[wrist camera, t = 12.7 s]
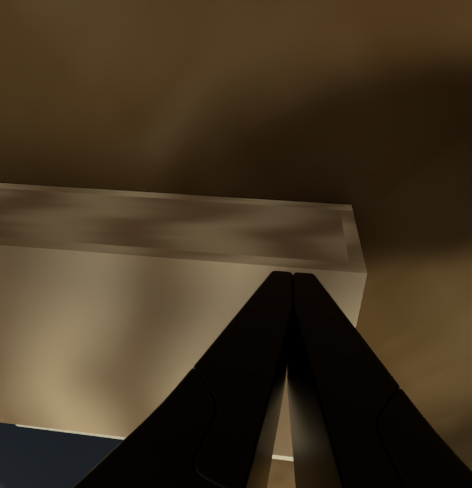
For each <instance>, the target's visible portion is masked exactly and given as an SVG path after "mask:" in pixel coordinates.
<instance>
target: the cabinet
mask: <svg viewBox="0 0 472 488" xmlns="http://www.w3.org/2000/svg"><path fill="white" fill-rule="evenodd" d="M272 271H287V272H291V273H292V274H294V273H295V272H300V273H312V274H314V275H315V276H316V277H317V279H318V280H319V281H320V282H321V284H322V285H323V286H324V288H325V289H326V290H327V292H328V293H329V294H330V296H331V297H332V298H333V300H334V301H335V302H336V303H337V305H338V306H339V307H340V309H341V310H342V311H343V313H344V314H345V315H346V317H347V318H348V319H349V320H350V322H351V323H352V324H353V326H354V327H355V328H356V324H357V320H358V315H359V310H360V306H361V301H362V296H363V291H364V287H365V282H366V277H367V270H366V266H365V261H364V257H363V253H362V248H361V244H360V239H359V235H358V231H357V226H356V222H355V218H354V213H353V209H352V205H345V204H329V203H313V202H297V201H281V200H265V199H249V198H233V197H217V196H201V195H185V194H169V193H153V192H137V191H121V190H105V189H89V188H73V187H57V186H41V185H25V184H9V183H0V422H2V423H10V424H18V425H27V426H35V427H44V428H52V429H61V430H69V431H78V432H86V433H95V434H103V435H111V436H120V437H127V436H128V435H129V434H130V433H132V432H133V431H134V430H135V429H136V428H137V427H138V426H139V425H140V424H141V423H142V422H143V421H144V420H145V419H146V418H147V417H148V416H149V415H150V414H151V413H152V412H153V411H154V410H155V409H156V408H157V407H158V406H159V405H160V404H161V403H162V402H163V401H164V400H165V399H166V398H167V397H168V395H169V394H170V393H171V392H172V391H173V390H174V389H175V388H176V386H177V385H178V384H179V383H180V382H181V381H182V379H183V378H184V377H185V376H186V375H187V373H188V372H189V371H190V370H191V369H192V368H194V365H195V364H196V363H197V361H198V360H199V359H200V358H201V357H202V355H203V354H204V353H205V352H206V351H207V349H208V348H209V347H210V346H211V345H212V343H213V342H214V341H215V340H216V338H217V337H218V336H219V335H220V334H221V332H222V331H223V330H224V329H225V328H226V326H227V325H228V324H229V323H230V321H231V320H232V319H233V318H234V317H235V315H236V314H237V313H238V312H239V311H240V309H241V308H242V307H243V306H244V305H245V303H246V302H247V301H248V300H249V298H250V297H251V296H252V295H253V294H254V292H255V291H256V290H257V289H258V288H259V286H260V285H261V284H262V283H263V282H264V280H265V279H266V278H267V277H268V275H269V274H270V273H271V272H272ZM273 455H281V456H289V457H293V449H292V438H291V426H290V415H289V403H288V392H287V372H286V381H285V388H284V394H283V399H282V405H281V411H280V416H279V422H278V427H277V433H276V438H275V444H274V449H273Z"/></svg>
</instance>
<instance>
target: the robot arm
mask: <svg viewBox="0 0 472 488" xmlns="http://www.w3.org/2000/svg"><path fill="white" fill-rule="evenodd" d="M286 372H287V392H288V403H289V415H290V426H291V438H292V449H293V461H294V472H295V484H296V488H472V471H471V470H470V469H469V468H468V467H467V466H466V465H465V464H464V463H463V461H462V460H461V459H460V458H459V457H458V456H457V455H456V454H455V453H454V451H453V450H452V449H451V448H450V447H449V446H448V445H447V444H446V443H445V441H444V440H443V439H442V438H441V437H440V436H439V435H438V434H437V432H436V431H435V430H434V429H433V428H432V426H431V425H430V424H429V423H428V422H427V420H426V419H425V418H424V417H423V415H422V414H421V413H420V412H419V410H418V409H417V408H416V407H415V405H414V404H413V403H412V402H411V400H410V399H409V398H408V396H407V395H406V394H405V392H404V391H403V390H402V389H399V388H400V387H399V385H398V383H397V382H396V381H395V379H394V378H393V377H392V376H391V374H390V373H389V372H388V370H387V369H386V368H385V366H384V365H383V364H382V362H381V361H380V360H379V359H378V357H377V356H376V355H375V353H374V352H373V351H372V349H371V348H370V347H369V345H368V344H367V343H366V341H365V340H364V339H363V338H362V336H361V335H360V334H359V332H358V331H357V330H356V328H355V327H354V326H353V324H352V323H351V322H350V320H349V319H348V318H347V317H346V315H345V314H344V313H343V311H342V310H341V309H340V307H339V306H338V305H337V303H336V302H335V301H334V300H333V298H332V297H331V296H330V294H329V293H328V292H327V290H326V289H325V288H324V286H323V285H322V284H321V282H320V281H319V280H318V279H317V277H316V276H315V275H314V274H312V273H300V272H295V273H294V274H292V273H291V272H287V271H272V272H271V273H270V274H269V275H268V277H267V278H266V279H265V280H264V282H263V283H262V284H261V285H260V286H259V288H258V289H257V290H256V291H255V292H254V294H253V295H252V296H251V297H250V298H249V300H248V301H247V302H246V303H245V305H244V306H243V307H242V308H241V309H240V311H239V312H238V313H237V314H236V315H235V317H234V318H233V319H232V320H231V321H230V323H229V324H228V325H227V326H226V328H225V329H224V330H223V331H222V332H221V334H220V335H219V336H218V337H217V338H216V340H215V341H214V342H213V343H212V345H211V346H210V347H209V348H208V349H207V351H206V352H205V353H204V354H203V355H202V357H201V358H200V359H199V360H198V361H197V363H196V364H195V365H194V368H192V369H191V370H190V371H189V372H188V373H187V375H186V376H185V377H184V378H183V379H182V381H181V382H180V383H179V384H178V385H177V386H176V388H175V389H174V390H173V391H172V392H171V393H170V394H169V395H168V397H167V398H166V399H165V400H164V401H163V402H162V403H161V404H160V405H159V406H158V407H157V408H156V409H155V410H154V411H153V412H152V413H151V414H150V415H149V416H148V417H147V418H146V419H145V420H144V421H143V422H142V423H141V424H140V425H139V426H138V427H137V428H136V429H135V430H134V431H133V432H132V433H130V434H129V435H128V436H127V437H126V438H125V439H124V440H123V441H122V442H121V443H120V444H119V445H118V446H117V447H116V448H115V449H113V450H112V451H111V452H110V453H109V454H108V455H107V456H106V457H105V458H104V459H103V460H102V461H101V462H100V463H99V464H97V465H96V466H95V467H94V468H93V469H92V470H91V471H90V472H89V473H88V474H87V475H86V476H85V477H84V478H83V479H82V480H80V481H79V482H78V483H77V484H76V485H75V486H74V487H73V488H267V483H268V477H269V472H270V466H271V461H272V455H273V449H274V444H275V438H276V433H277V427H278V422H279V416H280V411H281V405H282V399H283V394H284V388H285V381H286Z"/></svg>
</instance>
